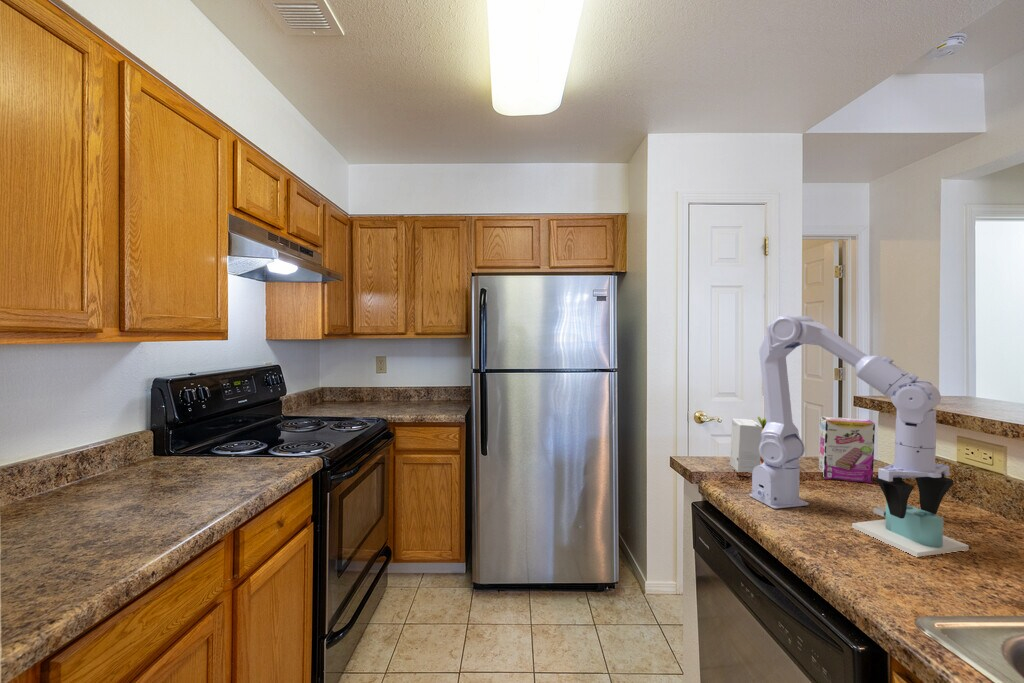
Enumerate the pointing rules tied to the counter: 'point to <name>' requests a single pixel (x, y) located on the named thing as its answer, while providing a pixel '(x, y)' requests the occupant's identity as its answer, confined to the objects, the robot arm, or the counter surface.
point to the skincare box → (745, 444)
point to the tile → (906, 540)
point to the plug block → (915, 525)
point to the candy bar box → (847, 449)
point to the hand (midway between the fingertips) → (912, 514)
